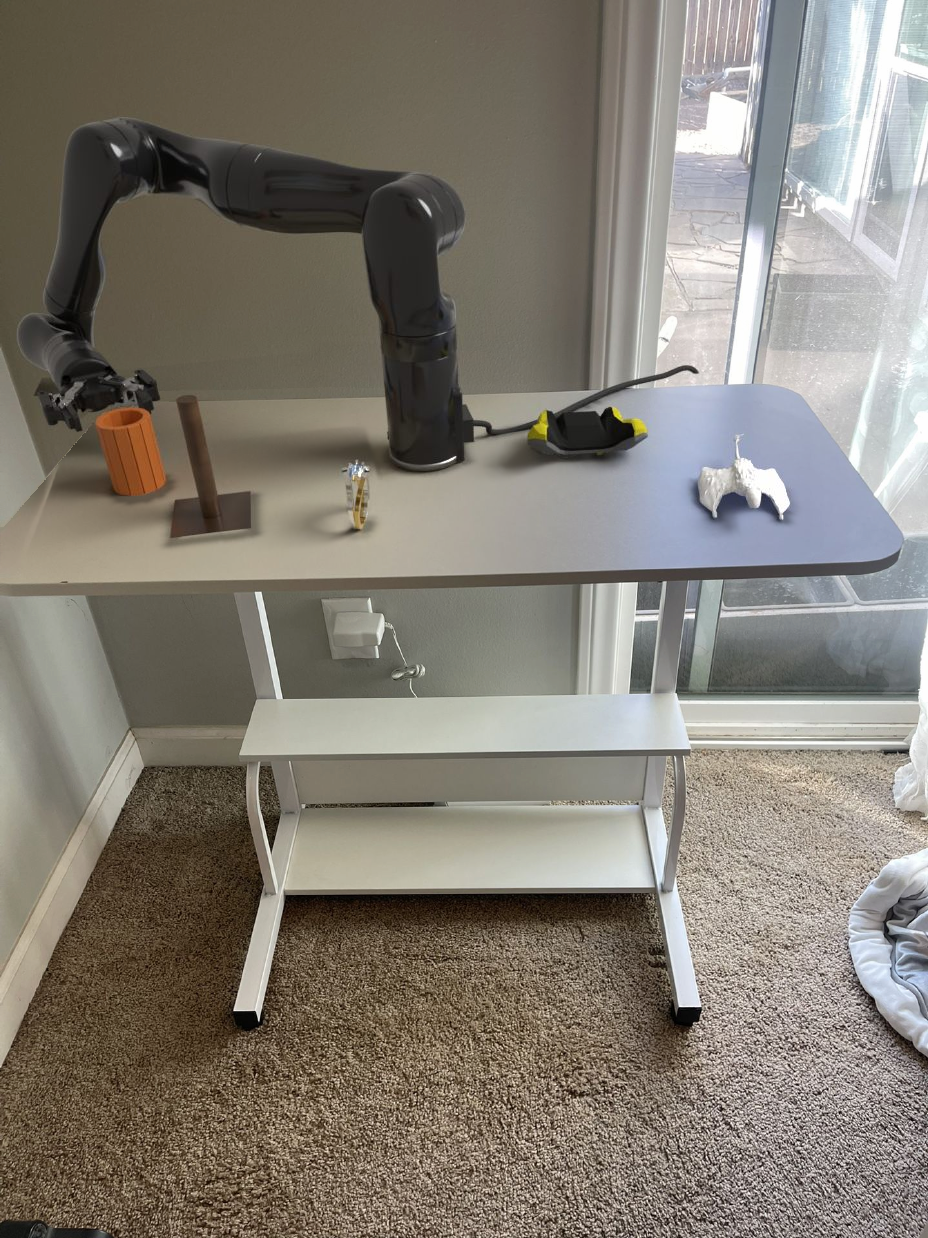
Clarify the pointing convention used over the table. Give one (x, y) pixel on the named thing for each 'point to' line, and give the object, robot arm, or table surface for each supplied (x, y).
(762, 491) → the white dragon
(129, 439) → the orange stave barrel
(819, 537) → the table surface
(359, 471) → the ring
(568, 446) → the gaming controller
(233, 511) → the brown peg stand
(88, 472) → the table surface
